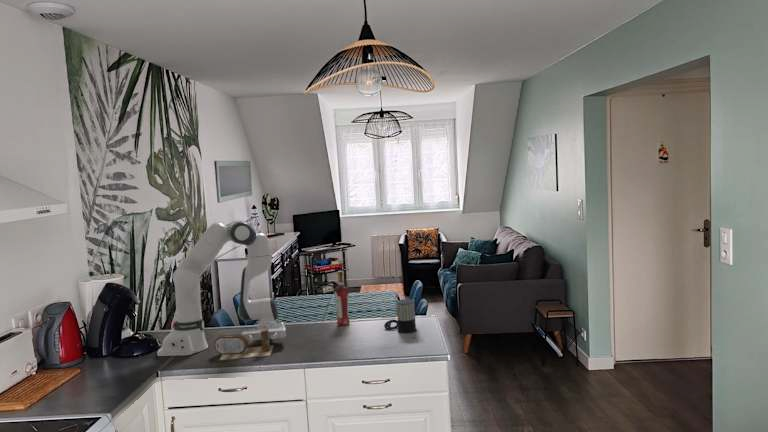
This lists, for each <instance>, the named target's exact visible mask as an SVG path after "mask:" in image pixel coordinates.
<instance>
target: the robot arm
mask: <svg viewBox="0 0 768 432" xmlns="http://www.w3.org/2000/svg"><path fill="white" fill-rule="evenodd" d="M230 241H232V243H235V244H237V245H243V246H244V245H245V247H246V249H247V257H248V258H247V259H248V261H247V265H246V266H245V267H244V268H243V269H242V273H241V280H240V294H239V304H238V309H237V313H238V316H239V317H238V318H240V319H241V320H242V321H243V322H249V321H250V322H251V321H253V320H259V321H258V324H257V326H256V328H249V329H245V330H243V331H242V333H241V335H242V336H244V337H245V338H246V339H247V342H249V341H250V342H254V341H258V340H259V341H261V330H262V329H268V330H269V340H275V339H283V338H284V339H285V338H286V337H287V331H286V329H287V327H286V326H285V324H284V322H283V321H277V319H278V316H279V308H278V304H277V302H276V300H274V298H272V297H265V298H260V299H259V298H258V299H257V298H256V299H250V285H251V282H252V280H254V279H255V278H257V277H259V276H262V275H263V274H265V273H267V272H268V271H269V270H270V269H271V266H272V262H273V261H272V251H271V245H270V244H271V243H270V241H269V238H268V236H267V234H265V233H263V232H256V231H255V230H254V229H253V227H252V226H251V225H250V224H249V223H248V222H246V221H244V220H234V221H232V222H230V223H228V224H226V225H225V224H223V223H221V222H213V223H212V224H211V225H210V226H209V227H208V228H207V229H206V230H205V231H204V232H203V233H202V235H201V236H200V238H199V239H198V240H197V242H195V245H194V246H193V247H192V249H191V251H190V252H189V253H188V254H187V255H186V257H184V259H183V260H182V261H181V263H180V264H179V265H178V266H177V268H176V269H175V270H174V272H173V275H172V281H173V283H174V294H175V296H174V297H175V310H176V319H175V320H174V322H173V323H172V328H173V330H171V332H170V333H168V335H166V336H165V337H164V338H163V340H162V345H161V348H159V349H158V350H157V353H156V354H157V356H158V357H167V356H168V357H171V356H172V357H174V356H178V357H179V356H190V355H193V354H195V353H200V352H202V351H205V350H207V349H208V348H209V345H208V341H207V339H206V335H205V323H204V322H205V321H204V318H203V314H202V303H201V301H202V300H201V299H202V298H201V280H200V279H201V276H202V275H203V274H204V273H205V271H206V270H207V269H208V268H209V267H210V266H211V265H212V264H213V262H214V261H215V259H216V257H217V256H218V255H219V253H220V252H221V250H222V249H223V247H224V246H225V245H226V244H227V243H228V242H230Z"/></svg>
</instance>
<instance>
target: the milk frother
mask: <svg viewBox="0 0 768 432" xmlns="http://www.w3.org/2000/svg"><path fill="white" fill-rule="evenodd" d="M415 302H416V301H415V300H414V299H411V298H405V299H399V300H398V299H397V300H396V301H395V303H396V311H397V313H396V314H397V316H396V317H397V319H390V320H387V321H386V322H385V323H384V325H383V327H384V329H386V330H391V331H392V330H397V332H398V333H400V334H412V333H415V332H417V325H416V313H415V312H416V311H415ZM392 323H395V324H396V325H394V326H391V325H392Z"/></svg>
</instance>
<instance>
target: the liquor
mask: <svg viewBox="0 0 768 432" xmlns="http://www.w3.org/2000/svg"><path fill="white" fill-rule="evenodd" d="M336 274H337V286H336V287H335V288H333V292H334V300H335V308H336V318H337V319H336V324H337V325H339V326H340V327H341V326H342V327H344V326H347V325H349V323H350V322H351V321H350V314H349V312H350V310H349V287H347V286H345V285H344V279H343V275H344V274H343V270H338V271H337V273H336Z"/></svg>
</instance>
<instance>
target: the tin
mask: <svg viewBox="0 0 768 432" xmlns="http://www.w3.org/2000/svg"><path fill="white" fill-rule="evenodd" d="M248 342H249V341H247V339H246V338H245V337H244V336H242V334H222V335H219V336H218V337H217V338H216V339H215V341H214V342H213V346H214V349H215V351H216V352H217V353H218V354H220V355H222V354H241V353H243V352H244V351H245V350H246V349H247V348H249V347H248V346H249V343H248Z"/></svg>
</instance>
